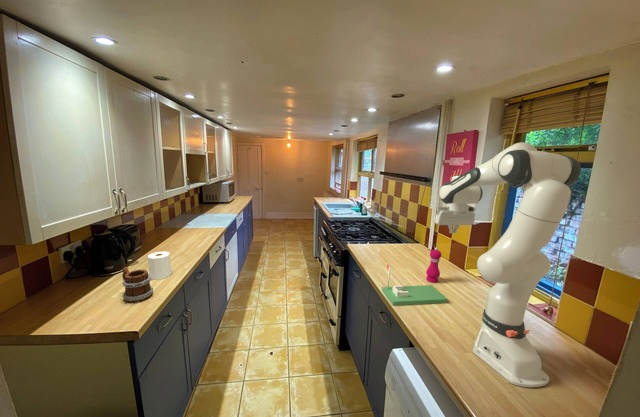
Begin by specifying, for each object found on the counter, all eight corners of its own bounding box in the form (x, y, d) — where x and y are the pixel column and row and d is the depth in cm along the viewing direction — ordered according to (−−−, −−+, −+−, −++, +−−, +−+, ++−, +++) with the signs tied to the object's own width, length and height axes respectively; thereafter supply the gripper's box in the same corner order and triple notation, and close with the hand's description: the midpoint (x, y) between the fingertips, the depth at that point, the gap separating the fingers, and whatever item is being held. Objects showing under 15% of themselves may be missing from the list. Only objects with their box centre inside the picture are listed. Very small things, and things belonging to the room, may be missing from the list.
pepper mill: (440, 284, 145) (444, 250, 142) (426, 282, 147) (430, 248, 143) (437, 278, 152) (441, 246, 148) (424, 276, 154) (428, 244, 150)
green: (447, 302, 126) (451, 276, 124) (392, 305, 122) (395, 278, 119) (429, 287, 141) (432, 263, 139) (380, 289, 137) (382, 264, 135)
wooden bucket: (135, 306, 114) (128, 273, 112) (115, 303, 119) (107, 272, 117) (160, 293, 124) (153, 263, 122) (140, 292, 130) (134, 263, 128)
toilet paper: (145, 279, 138) (143, 258, 136) (156, 271, 148) (154, 251, 146) (164, 279, 138) (163, 258, 136) (174, 271, 149) (173, 251, 146)
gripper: (441, 208, 128) (437, 234, 131) (478, 208, 131) (474, 234, 134) (433, 205, 134) (430, 231, 137) (469, 205, 137) (465, 231, 140)
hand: (452, 232), depth 135 cm, fingers closed
